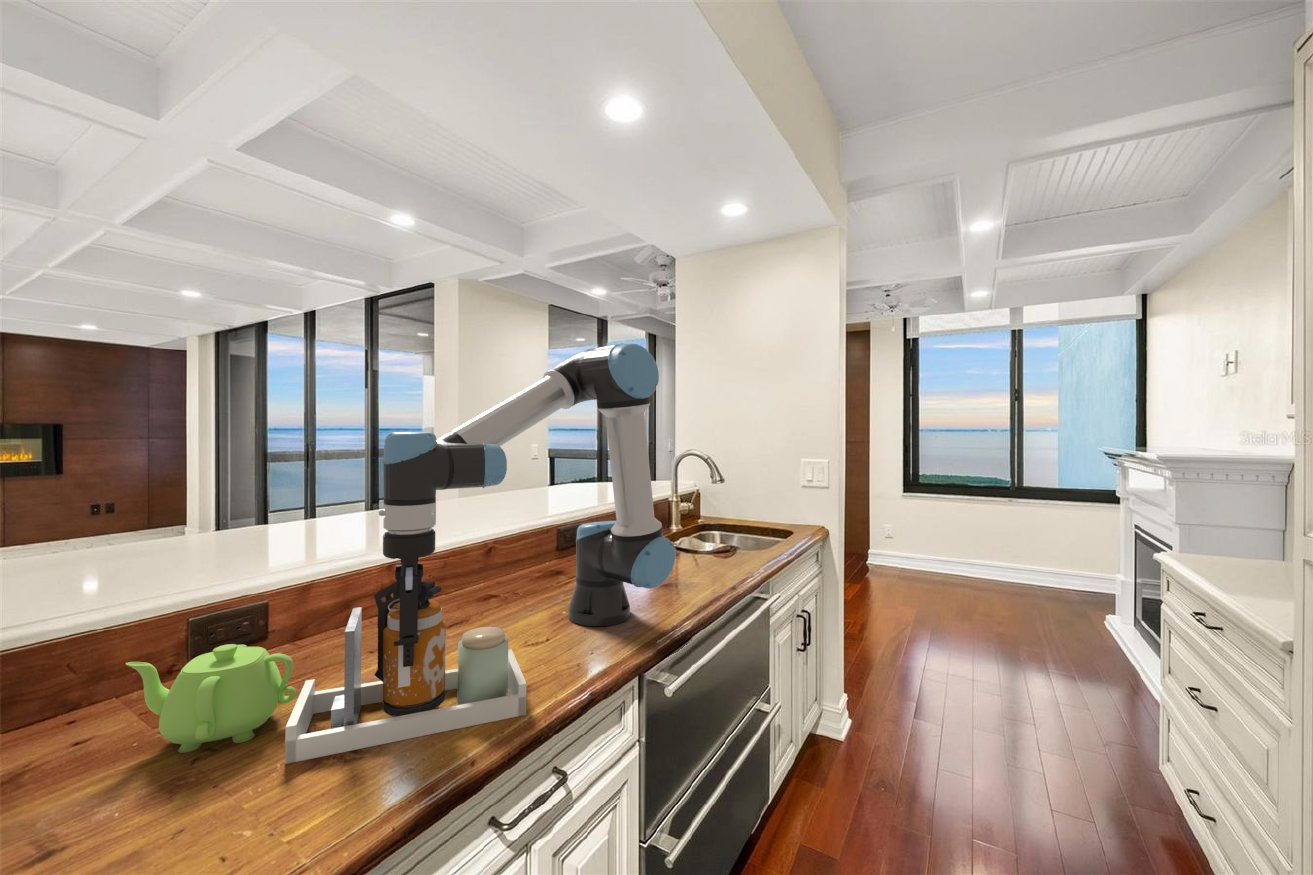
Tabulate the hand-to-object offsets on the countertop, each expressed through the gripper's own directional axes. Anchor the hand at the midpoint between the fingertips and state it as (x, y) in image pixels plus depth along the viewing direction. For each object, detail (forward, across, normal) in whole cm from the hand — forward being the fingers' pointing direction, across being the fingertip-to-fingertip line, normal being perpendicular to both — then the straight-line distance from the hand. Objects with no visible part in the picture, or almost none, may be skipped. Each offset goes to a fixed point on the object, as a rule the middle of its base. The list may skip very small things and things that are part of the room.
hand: (408, 672), depth 84 cm
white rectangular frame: (+7, 0, +1) cm, 7 cm away
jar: (+7, 0, +11) cm, 13 cm away
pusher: (+6, 0, -9) cm, 11 cm away
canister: (+6, 0, 0) cm, 6 cm away
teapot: (+7, -6, -26) cm, 27 cm away
